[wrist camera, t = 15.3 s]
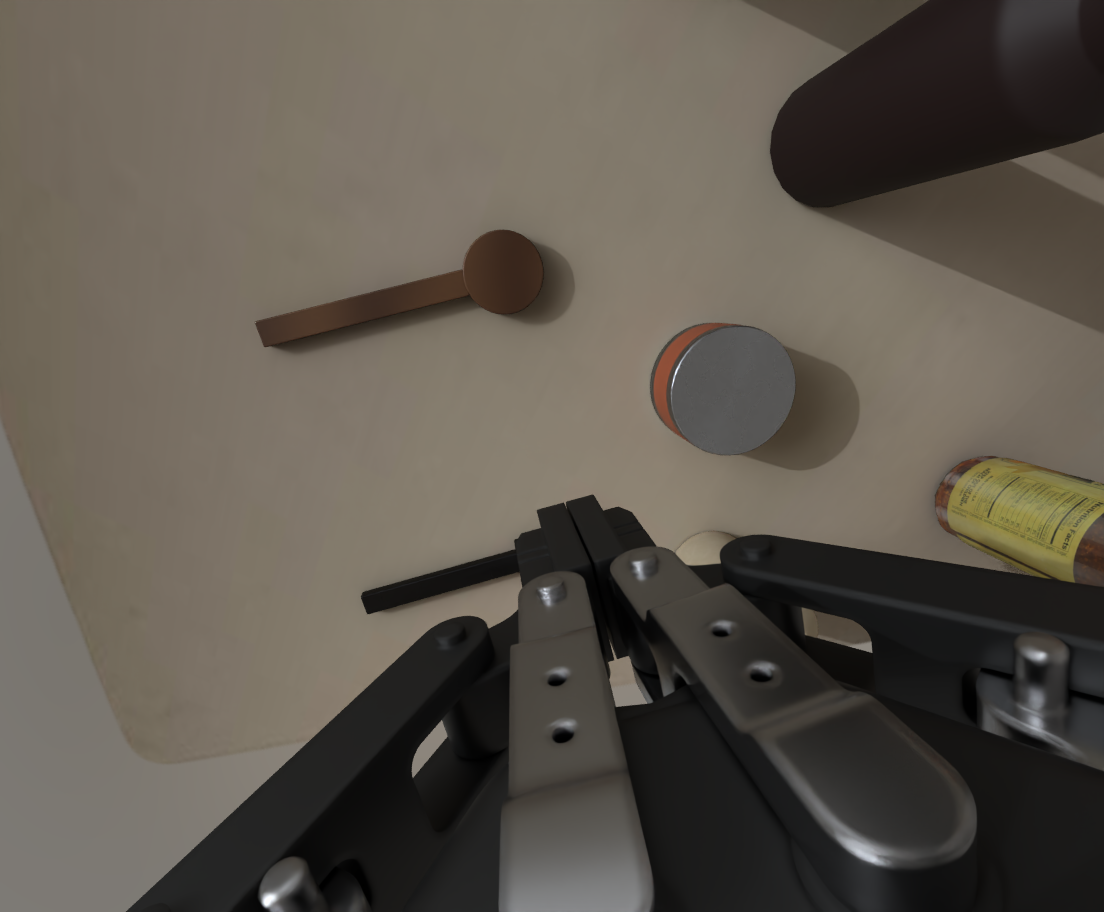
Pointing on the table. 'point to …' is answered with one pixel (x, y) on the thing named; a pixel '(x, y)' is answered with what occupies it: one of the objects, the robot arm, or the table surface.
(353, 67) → the table surface
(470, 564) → the fork
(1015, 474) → the sauce bottle
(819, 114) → the vinegar
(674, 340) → the tin can
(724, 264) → the table surface
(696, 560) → the candle
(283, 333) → the spoon
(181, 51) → the table surface
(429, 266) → the table surface
